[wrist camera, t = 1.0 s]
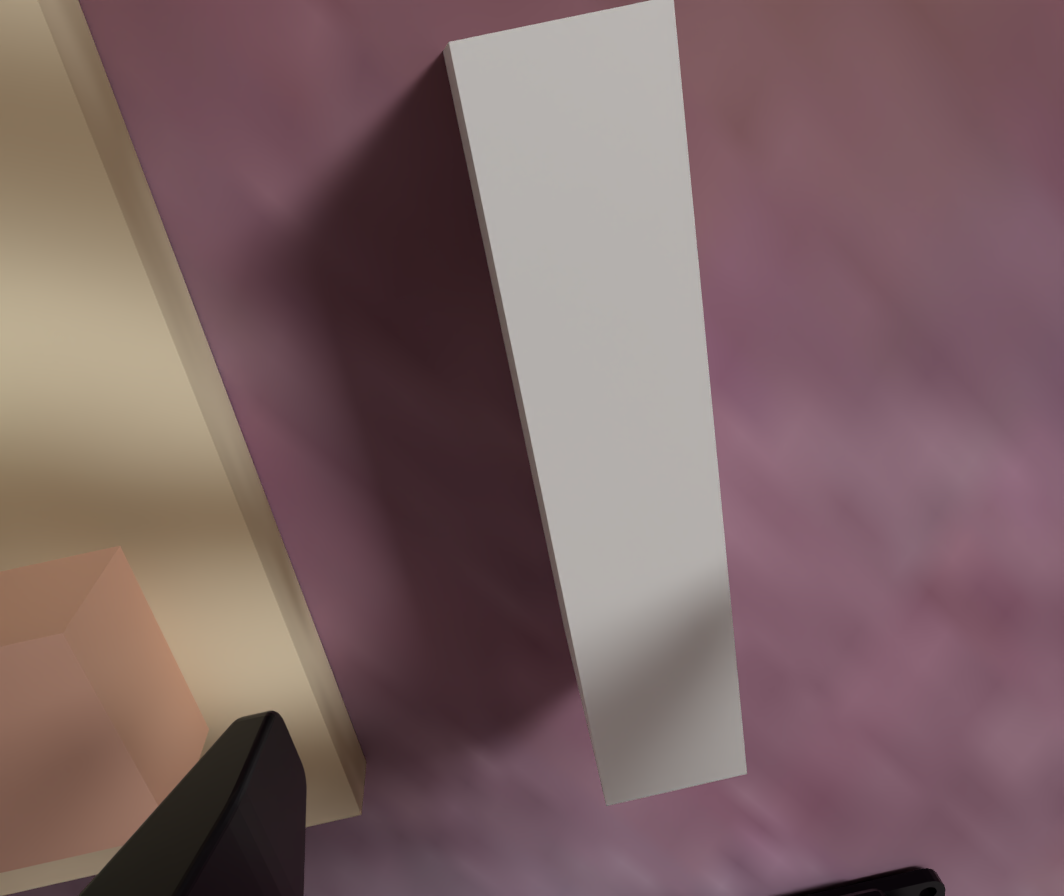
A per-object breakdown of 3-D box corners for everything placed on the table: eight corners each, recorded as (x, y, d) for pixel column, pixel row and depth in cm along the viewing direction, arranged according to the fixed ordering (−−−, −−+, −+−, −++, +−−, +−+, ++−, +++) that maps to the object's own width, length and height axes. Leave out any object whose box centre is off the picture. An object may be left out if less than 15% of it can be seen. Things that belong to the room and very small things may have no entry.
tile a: (209, 729, 16) (173, 834, 14) (-11, 778, 16) (-82, 891, 14) (119, 545, 15) (63, 633, 12) (-131, 599, 14) (-235, 697, 12)
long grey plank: (670, 602, 19) (747, 773, 14) (563, 626, 19) (606, 805, 14) (591, 20, 13) (673, -4, 9) (442, 51, 13) (448, 41, 9)
